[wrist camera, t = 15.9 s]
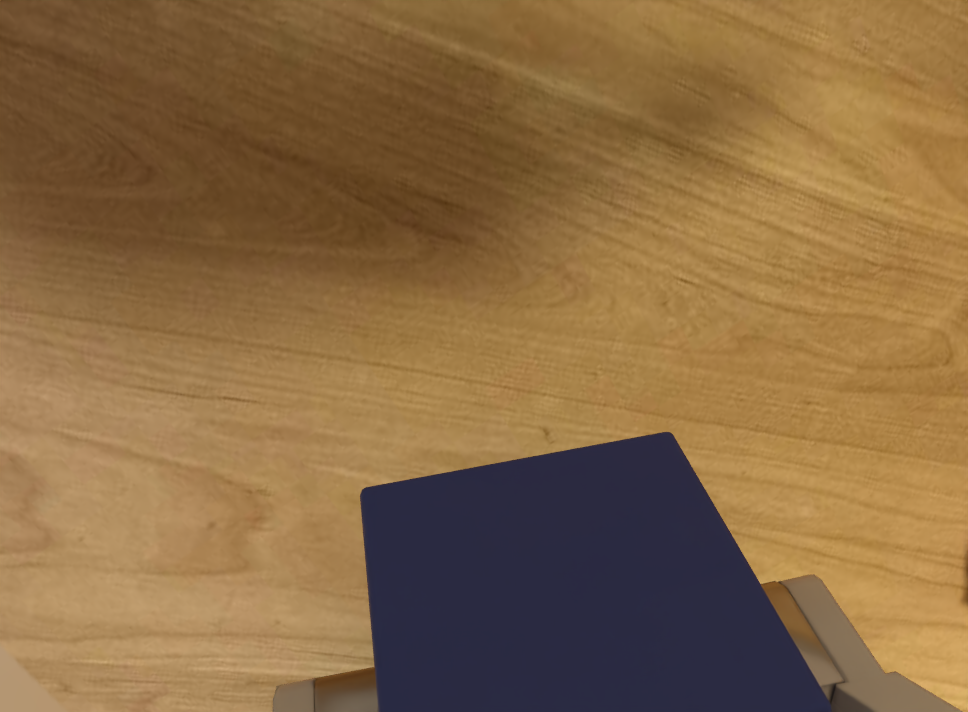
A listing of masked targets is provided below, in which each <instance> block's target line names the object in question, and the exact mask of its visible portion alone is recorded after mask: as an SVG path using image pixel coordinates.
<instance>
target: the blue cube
mask: <svg viewBox="0 0 968 712" xmlns="http://www.w3.org/2000/svg"><path fill="white" fill-rule="evenodd" d="M360 501H361V512H362V524H363V536H364V548H365V559H366V571H367V583H368V595H369V606H370V618H371V630H372V642H373V653H374V665H375V677H376V689H377V700H378V712H832V710H831V704H830V702H829V700H828V699H827V697H826V695H825V694H824V692H823V690H822V688H821V687H820V685H819V683H818V682H817V680H816V678H815V676H814V675H813V673H812V671H811V670H810V668H809V666H808V665H807V663H806V661H805V659H804V658H803V656H802V654H801V653H800V651H799V649H798V647H797V646H796V644H795V642H794V641H793V639H792V637H791V636H790V634H789V632H788V630H787V629H786V627H785V625H784V624H783V622H782V620H781V618H780V617H779V615H778V613H777V612H776V610H775V608H774V606H773V605H772V603H771V601H770V600H769V598H768V596H767V595H766V593H765V591H764V589H763V588H762V586H761V584H760V583H759V581H758V579H757V577H756V576H755V574H754V572H753V571H752V569H751V567H750V566H749V564H748V562H747V560H746V559H745V557H744V555H743V554H742V552H741V550H740V548H739V547H738V545H737V543H736V542H735V540H734V538H733V537H732V535H731V533H730V531H729V530H728V528H727V526H726V525H725V523H724V521H723V519H722V518H721V516H720V514H719V513H718V511H717V509H716V507H715V506H714V504H713V502H712V501H711V499H710V497H709V496H708V494H707V492H706V490H705V489H704V487H703V485H702V484H701V482H700V480H699V478H698V477H697V475H696V473H695V472H694V470H693V468H692V467H691V465H690V463H689V461H688V460H687V458H686V456H685V455H684V453H683V451H682V449H681V448H680V446H679V444H678V443H677V441H676V439H675V438H674V436H673V434H672V433H670V432H663V433H657V434H652V435H646V436H641V437H636V438H630V439H625V440H620V441H614V442H609V443H603V444H598V445H593V446H587V447H582V448H576V449H571V450H566V451H560V452H555V453H549V454H544V455H539V456H533V457H528V458H523V459H517V460H512V461H506V462H501V463H496V464H490V465H485V466H479V467H474V468H469V469H463V470H458V471H452V472H447V473H442V474H436V475H431V476H425V477H420V478H415V479H409V480H404V481H399V482H393V483H388V484H382V485H377V486H372V487H366V488H364V489H362V492H361V495H360Z"/></svg>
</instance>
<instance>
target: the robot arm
mask: <svg viewBox="0 0 968 712" xmlns="http://www.w3.org/2000/svg"><path fill="white" fill-rule="evenodd" d="M761 586H762V588H763V589H764V591H765V593H766V595H767V596H768V598H769V600H770V601H771V603H772V605H773V606H774V608H775V610H776V612H777V613H778V615H779V617H780V618H781V620H782V622H783V624H784V625H785V627H786V629H787V630H788V632H789V634H790V636H791V637H792V639H793V641H794V642H795V644H796V646H797V647H798V649H799V651H800V653H801V654H802V656H803V658H804V659H805V661H806V663H807V665H808V666H809V668H810V670H811V671H812V673H813V675H814V676H815V678H816V680H817V682H818V683H819V685H820V687H821V688H822V690H823V692H824V694H825V695H826V697H827V699H828V700H829V702H830V704H831V710H832V712H962V711H961V710H959V709H957V708H956V707H954V706H952V705H951V704H949V703H947V702H946V701H944V700H942V699H941V698H939V697H937V696H936V695H934V694H932V693H931V692H929V691H927V690H926V689H924V688H922V687H921V686H919V685H917V684H916V683H914V682H912V681H911V680H909V679H907V678H906V677H904V676H902V675H901V674H899V673H897V672H890V673H885V672H884V671H883V669H882V668H881V666H880V665H879V664H878V662H877V661H876V659H875V658H874V656H873V655H872V653H871V652H870V650H869V649H868V647H867V646H866V644H865V643H864V641H863V640H862V639H861V637H860V636H859V634H858V633H857V631H856V630H855V628H854V627H853V625H852V624H851V622H850V621H849V619H848V618H847V617H846V615H845V614H844V612H843V611H842V609H841V608H840V606H839V605H838V603H837V602H836V600H835V599H834V597H833V596H832V594H831V593H830V592H829V590H828V589H827V587H826V586H825V584H824V583H823V581H822V580H821V579H820V578H818V577H817V576H815V575H805V576H801V577H796V578H792V579H788V580H784V581H779V582H776V581H773V582H769V583H764V584H761ZM273 712H378V700H377V689H376V677H375V667H372V668H366V669H361V670H356V671H351V672H345V673H340V674H335V675H330V676H324V677H319V678H312V679H308V680H303V681H298V682H293V683H288V684H284V685H279V686H276V690H275V694H274V698H273Z"/></svg>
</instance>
